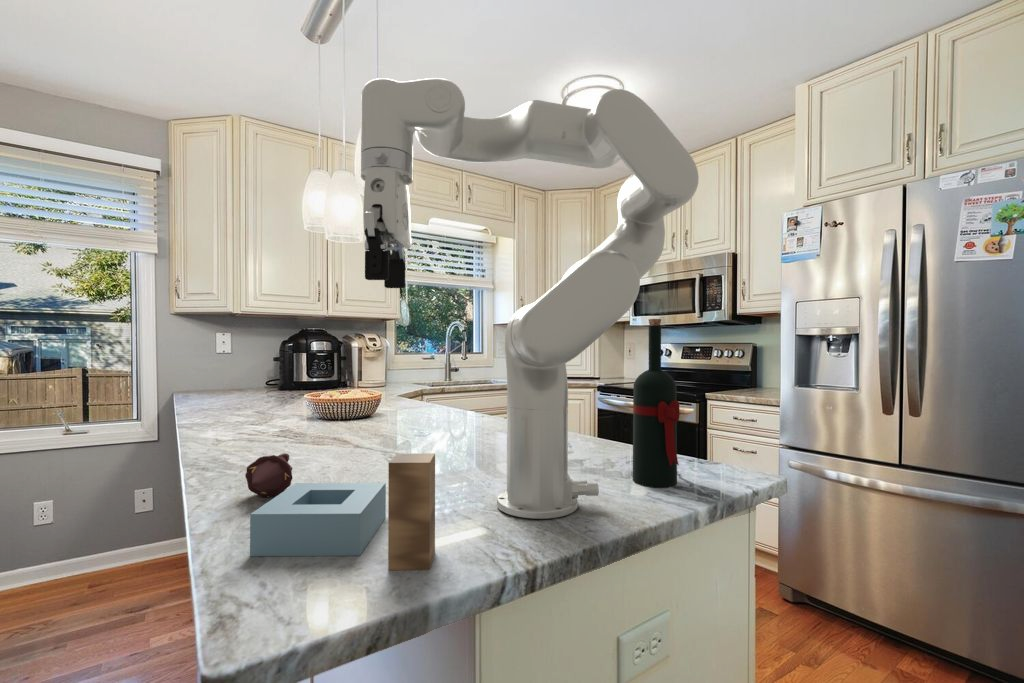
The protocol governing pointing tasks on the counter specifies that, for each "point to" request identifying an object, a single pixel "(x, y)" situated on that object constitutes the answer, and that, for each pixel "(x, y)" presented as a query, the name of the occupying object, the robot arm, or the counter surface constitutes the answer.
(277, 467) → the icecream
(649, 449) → the wine bottle
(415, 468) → the walnut peg
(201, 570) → the counter surface
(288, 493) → the socket block
